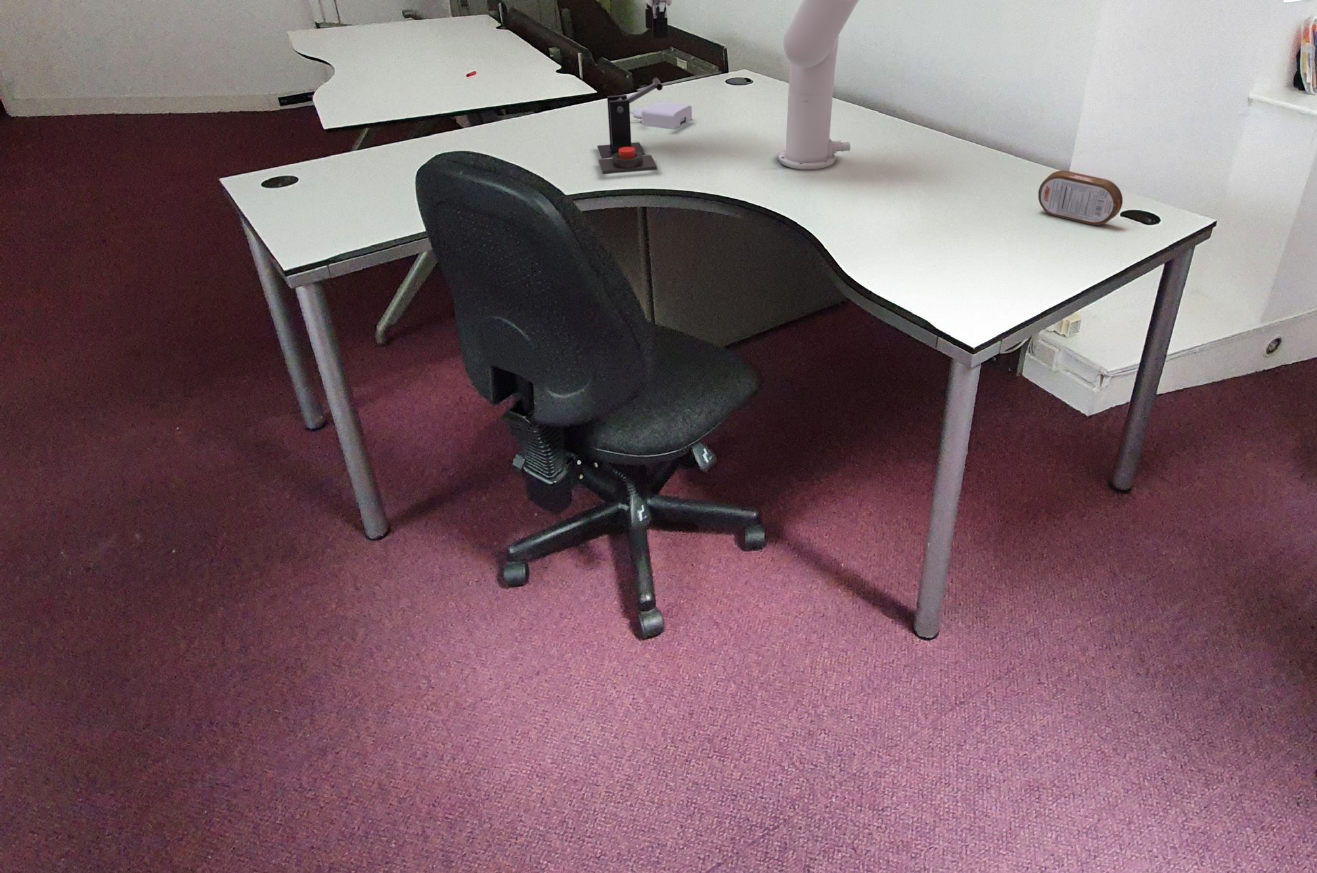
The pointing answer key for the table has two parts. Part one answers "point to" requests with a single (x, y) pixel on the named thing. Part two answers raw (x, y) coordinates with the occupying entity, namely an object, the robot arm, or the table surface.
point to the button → (627, 152)
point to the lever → (645, 90)
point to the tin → (1080, 197)
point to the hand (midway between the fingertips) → (656, 32)
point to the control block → (627, 164)
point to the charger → (664, 115)
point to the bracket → (618, 127)
